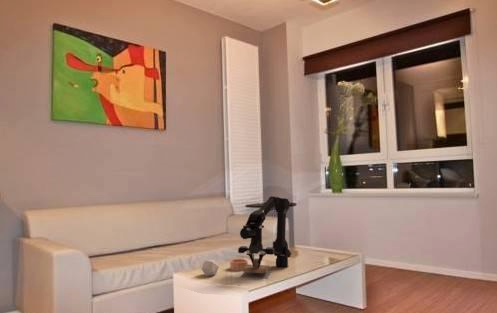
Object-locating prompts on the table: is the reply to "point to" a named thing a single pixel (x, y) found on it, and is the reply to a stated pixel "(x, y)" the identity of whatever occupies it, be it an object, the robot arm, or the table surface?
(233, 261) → the bowl
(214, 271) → the die
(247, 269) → the lid
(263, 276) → the tray
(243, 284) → the table surface
